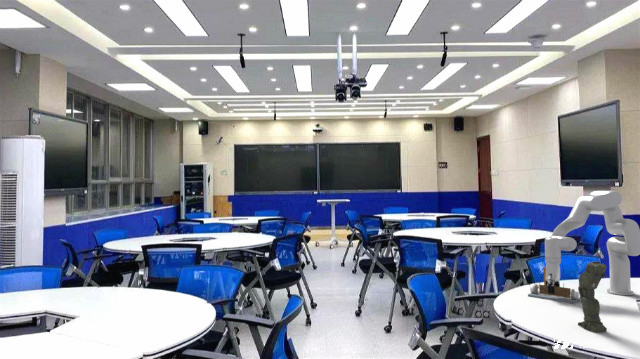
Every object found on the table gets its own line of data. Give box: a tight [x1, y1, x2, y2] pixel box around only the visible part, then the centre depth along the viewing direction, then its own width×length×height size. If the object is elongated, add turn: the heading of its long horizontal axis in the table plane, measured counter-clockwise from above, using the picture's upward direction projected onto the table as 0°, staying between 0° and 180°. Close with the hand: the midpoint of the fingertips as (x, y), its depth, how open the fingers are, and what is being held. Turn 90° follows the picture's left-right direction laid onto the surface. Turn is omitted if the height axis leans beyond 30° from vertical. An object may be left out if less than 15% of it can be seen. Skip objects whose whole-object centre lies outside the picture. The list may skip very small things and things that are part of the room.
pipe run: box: [527, 283, 581, 304], centre depth 231 cm, size 12×23×6 cm, turn 45°
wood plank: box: [538, 284, 572, 298], centre depth 230 cm, size 15×2×5 cm, turn 47°
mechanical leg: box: [577, 260, 608, 333], centre depth 178 cm, size 14×7×30 cm, turn 5°
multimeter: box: [538, 256, 565, 289], centre depth 251 cm, size 15×10×20 cm
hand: (553, 291), depth 231 cm, fingers open, 9 cm apart
